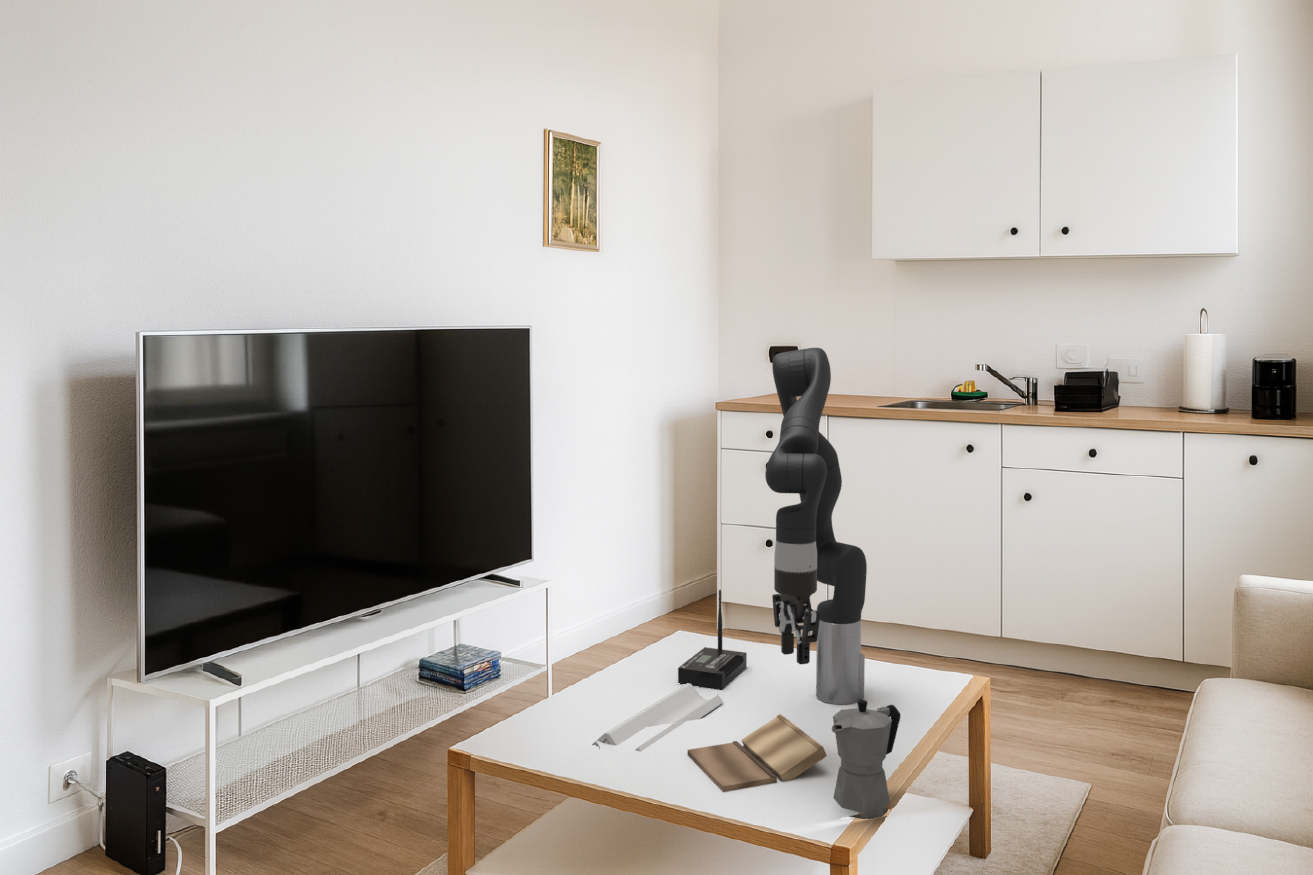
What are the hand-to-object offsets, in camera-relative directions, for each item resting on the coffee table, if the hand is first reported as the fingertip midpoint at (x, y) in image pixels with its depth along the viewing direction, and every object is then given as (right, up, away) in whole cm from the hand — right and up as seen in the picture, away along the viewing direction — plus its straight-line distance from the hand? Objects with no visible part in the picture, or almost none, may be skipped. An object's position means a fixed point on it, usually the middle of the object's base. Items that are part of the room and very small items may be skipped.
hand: (795, 657), depth 181 cm
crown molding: (-24, -18, +21) cm, 37 cm away
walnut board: (-12, -20, -2) cm, 23 cm away
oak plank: (-2, -17, +1) cm, 17 cm away
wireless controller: (-11, -15, +51) cm, 54 cm away
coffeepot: (+10, -21, -14) cm, 27 cm away
